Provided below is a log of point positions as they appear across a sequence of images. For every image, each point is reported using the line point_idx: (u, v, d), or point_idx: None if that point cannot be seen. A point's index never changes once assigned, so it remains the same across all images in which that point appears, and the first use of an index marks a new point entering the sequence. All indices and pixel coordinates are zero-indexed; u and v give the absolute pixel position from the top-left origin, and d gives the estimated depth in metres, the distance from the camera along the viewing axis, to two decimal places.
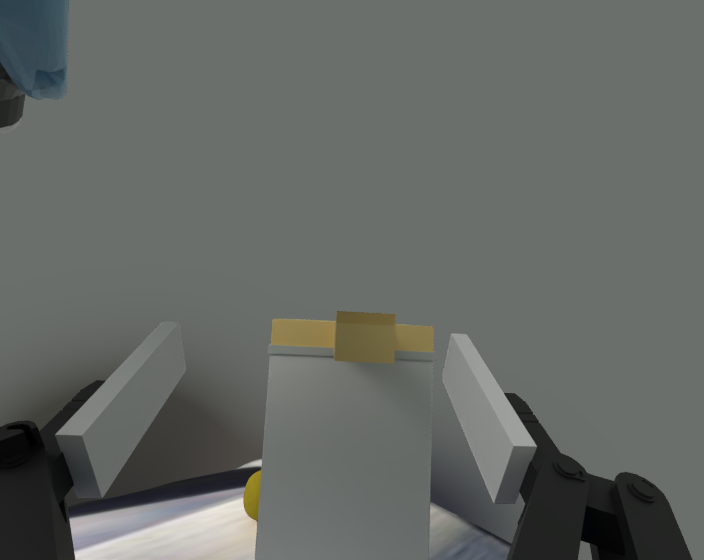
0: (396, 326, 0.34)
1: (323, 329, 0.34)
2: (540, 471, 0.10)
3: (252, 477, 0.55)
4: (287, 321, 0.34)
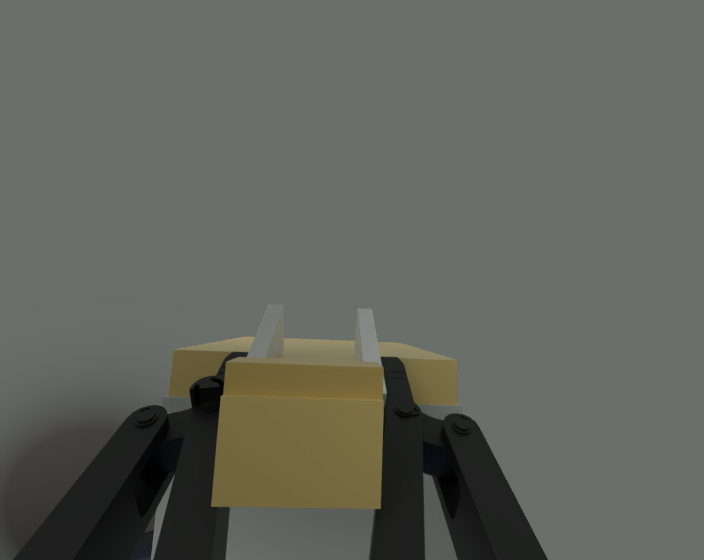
0: None
1: None
2: (386, 420, 0.11)
3: None
4: (199, 354, 0.19)
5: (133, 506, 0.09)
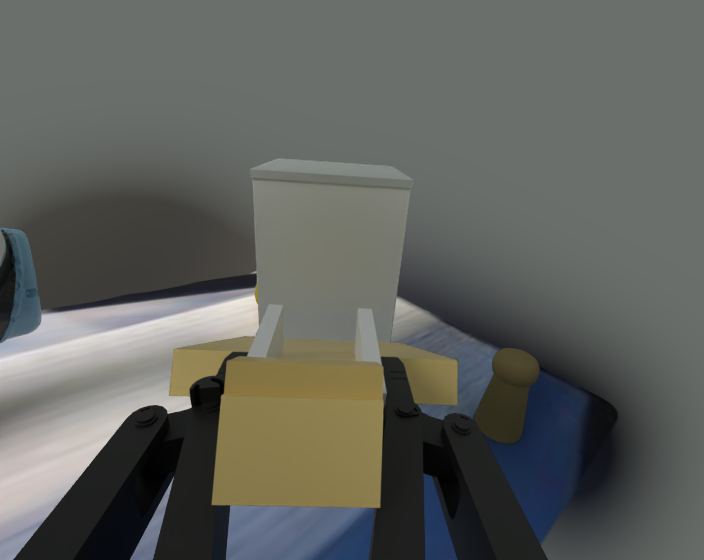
0: None
1: None
2: (386, 420, 0.11)
3: None
4: (200, 353, 0.19)
5: (133, 506, 0.09)
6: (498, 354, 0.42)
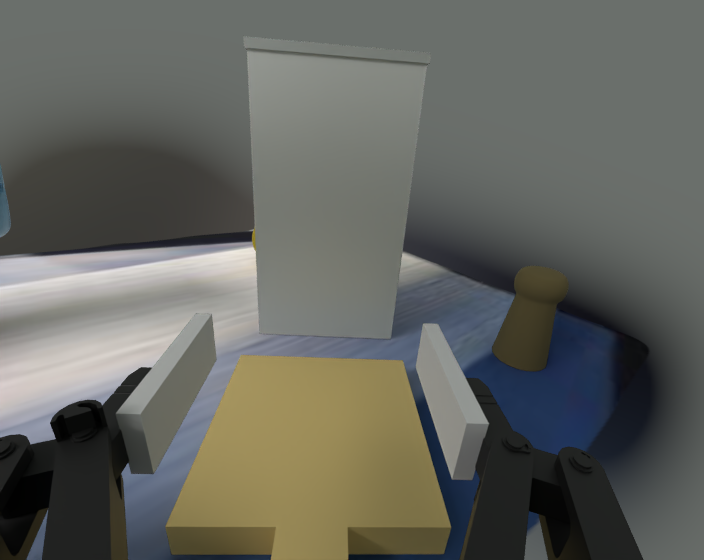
0: (386, 529, 0.20)
1: (257, 535, 0.19)
2: (491, 449, 0.11)
3: None
4: (192, 528, 0.19)
5: (0, 545, 0.08)
6: (521, 270, 0.37)
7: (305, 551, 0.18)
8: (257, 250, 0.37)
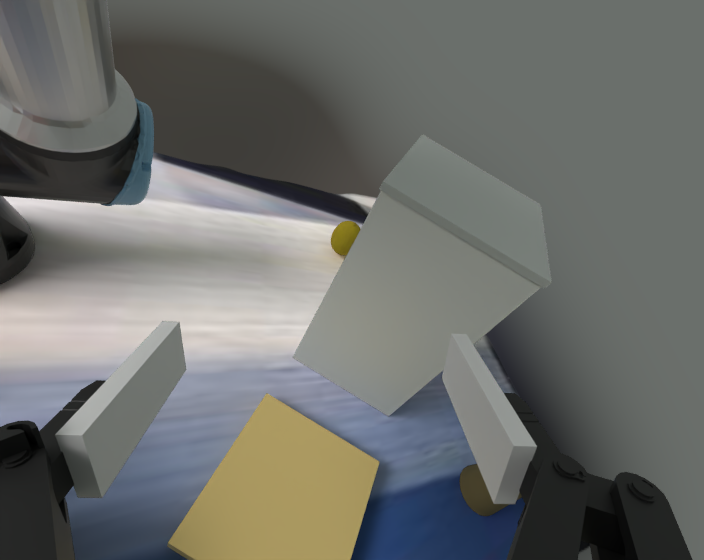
0: None
1: None
2: (540, 471, 0.10)
3: (343, 224, 0.63)
4: (182, 551, 0.30)
5: None
6: None
7: None
8: (316, 315, 0.42)
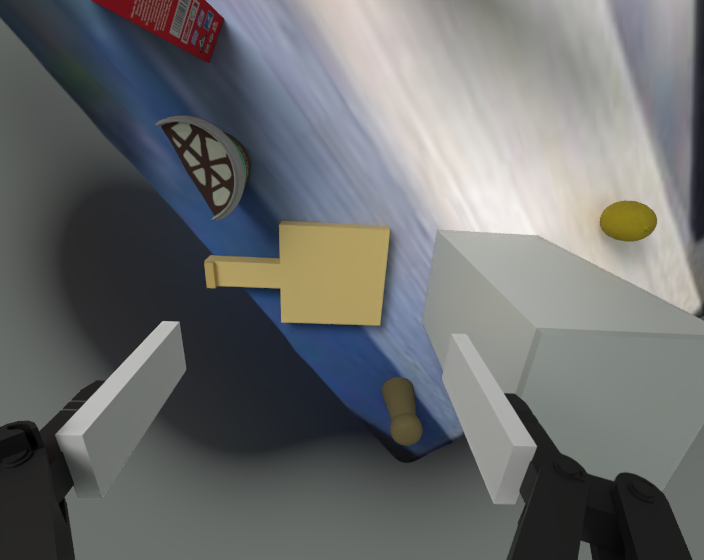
0: None
1: None
2: (540, 471, 0.10)
3: (643, 214, 0.45)
4: None
5: None
6: (413, 425, 0.54)
7: (272, 274, 0.52)
8: (458, 252, 0.43)
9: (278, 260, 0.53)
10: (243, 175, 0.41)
